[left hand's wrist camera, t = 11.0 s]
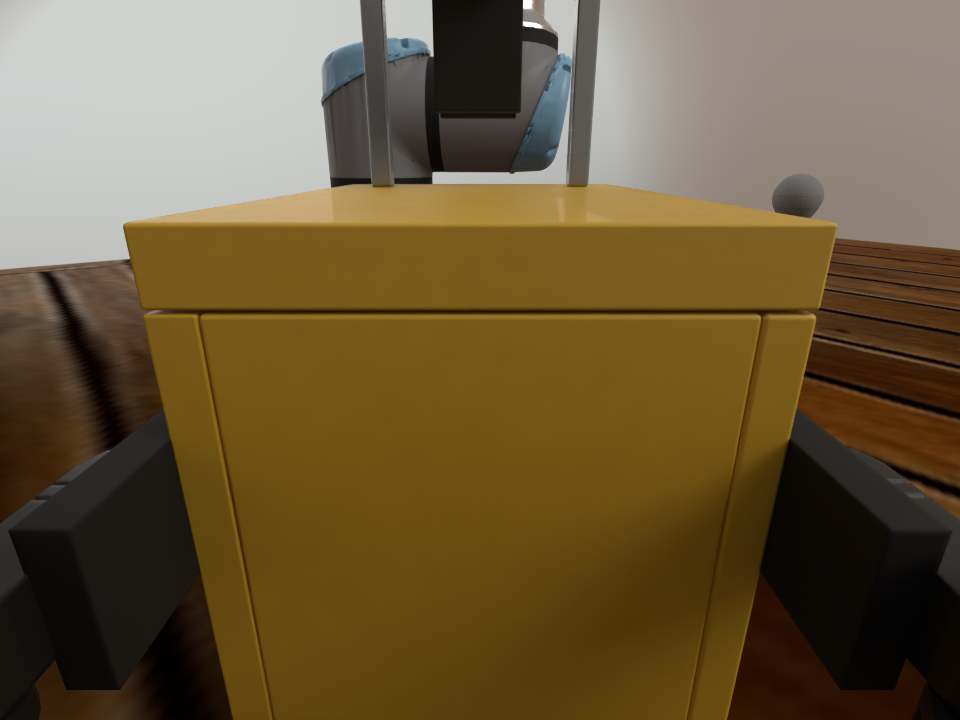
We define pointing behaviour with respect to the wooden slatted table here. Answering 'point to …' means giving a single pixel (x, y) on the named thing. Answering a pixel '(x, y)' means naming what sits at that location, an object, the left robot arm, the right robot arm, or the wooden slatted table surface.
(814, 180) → the light bulb
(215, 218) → the lid
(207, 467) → the chest
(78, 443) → the wooden slatted table surface
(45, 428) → the wooden slatted table surface
